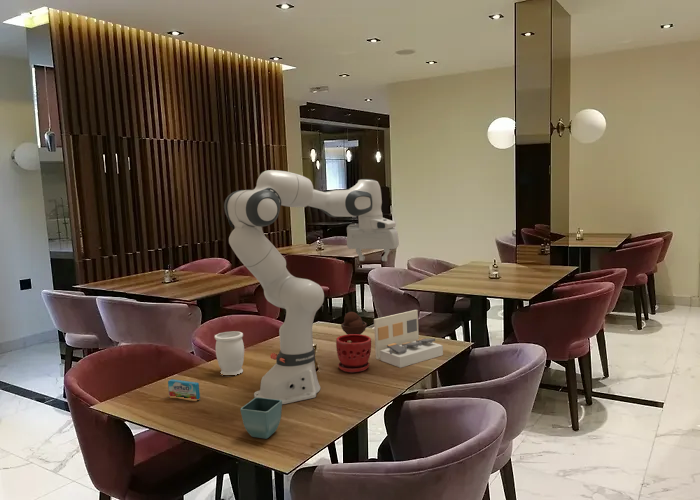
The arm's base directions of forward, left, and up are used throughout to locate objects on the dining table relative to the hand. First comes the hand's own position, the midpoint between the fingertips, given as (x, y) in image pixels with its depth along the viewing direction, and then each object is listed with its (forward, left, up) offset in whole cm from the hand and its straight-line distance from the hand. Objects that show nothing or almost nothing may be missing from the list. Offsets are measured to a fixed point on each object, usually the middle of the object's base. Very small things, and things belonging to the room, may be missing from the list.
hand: (373, 260), depth 205 cm
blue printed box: (-68, +19, -41) cm, 81 cm away
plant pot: (-8, +5, -41) cm, 42 cm away
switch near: (+9, -1, -35) cm, 36 cm away
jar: (-45, +33, -41) cm, 69 cm away
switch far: (+24, 0, -35) cm, 42 cm away
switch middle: (+16, -1, -35) cm, 39 cm away
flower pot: (-60, -23, -41) cm, 76 cm away
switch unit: (+16, +1, -40) cm, 44 cm away
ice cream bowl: (+10, +29, -41) cm, 51 cm away
